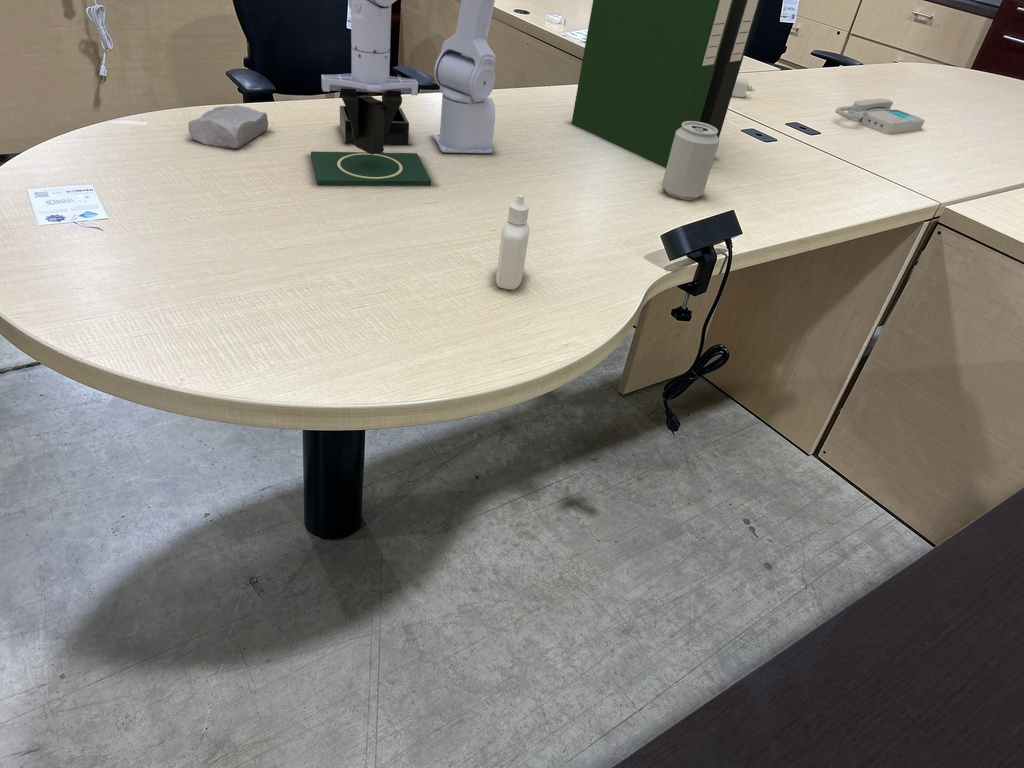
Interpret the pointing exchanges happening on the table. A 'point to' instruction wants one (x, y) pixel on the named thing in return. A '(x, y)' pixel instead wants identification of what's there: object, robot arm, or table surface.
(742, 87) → the usb wall charger
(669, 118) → the binder
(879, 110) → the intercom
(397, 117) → the pen tray
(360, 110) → the ink cartridge
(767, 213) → the table surface
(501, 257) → the eye dropper bottle
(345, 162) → the desk mat
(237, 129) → the stone block
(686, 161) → the can
